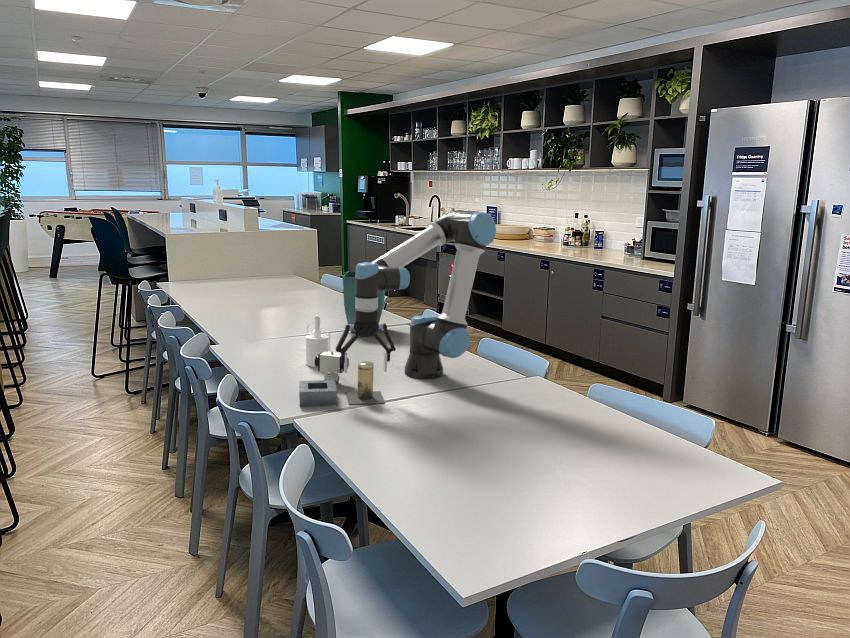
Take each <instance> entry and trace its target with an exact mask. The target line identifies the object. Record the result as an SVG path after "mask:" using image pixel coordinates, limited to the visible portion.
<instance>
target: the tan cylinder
mask: <svg viewBox="0 0 850 638" xmlns="http://www.w3.org/2000/svg"><path fill="white" fill-rule="evenodd" d="M373 391H374V363H373V362H372V361H366V360H365V361H359V362H358V363H357V392H358V398H359V399H362V400H369V399H372V398H373Z"/></svg>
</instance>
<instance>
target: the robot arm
mask: <svg viewBox="0 0 850 638" xmlns="http://www.w3.org/2000/svg"><path fill="white" fill-rule="evenodd" d="M496 234H497V225H496V222H495V220H494V218H493V217H492V216H491V215H490V214H488V213H487V212H484V211H478V210H463V209H457V210H453V211H449V212H447V213H445V214H444V215H442V216H440V217H437V218H436V219H434V220H433V221H432V222H430V223H428V225H427V227H426V228H425V229H423V230H422V231H420V232H418V233H417V234H415V235H414V236H412V237H410V238H409V239H407V240H405V241H404V242H402V243H401V244H399V245H397V246H395V247H394V248H393V249H391V250H389V251H387V252H386V253H384V254H383V255H381V256H379V257H377V258H376V259H374V260H373V261H365V262H359V263H357V264H356V267H355V271H356V274H355V294H356V295H355V296H356V297H355V308H356V309H357V310H356V311H355V323H354V325H351V324H348V322H347V323H345V326H344V331H343V332H342V334H341V336H340V338H339V340H338V342H337V344H336V346H335V352H336V353H341V362H342V363H344V371H343V373H345V374H347V373H348V369H347V358H348V353H347V351H348V350H349V349H350V347H352V345H353V344H354V343H355V342H356V341H357V340H358V339H359V338H372V337H374V338H375V340H376V341H377V342H378V343H379V344H380V345H381V346H382V348H383V349H384V351H383V371H384V373H387V372H388V363H389V362H391V354H392V352H395V351H396V350H397V349H396V346H395V344H394V342H393V340H392V338H391V336H390V334H389V331H388V325H387V323H386V322H383V323H379V324H378V311H377V310H376V309H378V291H385V292H386V291H399V290H405V289H407V288H408V287H409V285H410V281H411V275H410V272H409V270H408V269H407V268H406V267H405V266H407V265H409V264H410V263H412V262H413V261H415V260H417V259H418V258H420V257H422V256H423V255H425V254H426V253H428V252H429V251H431V250H433V249H435V248H436V247H437V246H444V245H445V244H448V243H450V242H453V245H454V247H455V249H456V253H455V256H454V257H455V258H454V261H453V265H452V270H451V272H450V273H451V274H450V278H449V282H448V287H447V291H446V296H445V299H444V303H443V307H442V311H441V313H440V314H439V315H438V314H437V315H436V314H425V315H424V314H422V315H414V316H412V317H411V319H410V324H409V354H408V357H407V360H406V363H405V365H404V374H405V375H406V376H407V377H409V378H414V379H419V380H420V379H423V380H424V379H425V380H429V379H436V378H441V377H442V376H443V375H444V366H443V364H442V359H441V356H442V357H445V358H451V359H455V358H459V357H461V356H462V355H463V354H465V353H466V352H467V350H468V348H469V346H470V343H471V336H470V332H469V331H468V330H467V327H468V322H467V321H466V315H467V310H468V306H469V301H470V298H471V292H472V289H473V285H474V280H475V277H476V271H477V270H478V269H477V267H478V264H479V259H480V256H481V255H482V254H483V253H485V252H486V248H487V246H488V245H490V244H491V243H493V242H494V240H495V238H496ZM352 328H354V329H355V331H356V332H353V334H352V336H351V337H350V338H349V340H347V342H346V343H345V341H346V339H347V337H348V335H349V333H350V332H351V330H352ZM379 329H380V330H381V331H383V334H384V336H385V338H386V340H387V342H388V344H389V346H390V347H389V346H388V345H387V344H386V343H385V342H384V341H383V339H382V338H381V336H379V334H378V333H377V332H378V330H379ZM343 344H344V345H343ZM440 355H441V356H440Z"/></svg>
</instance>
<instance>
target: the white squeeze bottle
mask: <svg viewBox="0 0 850 638" xmlns="http://www.w3.org/2000/svg"><path fill="white" fill-rule="evenodd" d="M310 325H314V329H313V331H309V326H310ZM306 331H307V332H308V333H309V334H307V335H305V336H304V337H305V351H306V352H305V353H306V354H305V361H306V362H305V365H306V366H308V367H309V368H310V367H311V368H317V367H316V366H315V357H316V356H317V355H318V354H320V353H321V352H331V333H330V332H329V331H325V330H323V329H322V328H321V316H319V315H315V316H314V322H311V323H310V322H309V323H308V325H306ZM322 332H323V333H322ZM325 333H327V334H325Z"/></svg>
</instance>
